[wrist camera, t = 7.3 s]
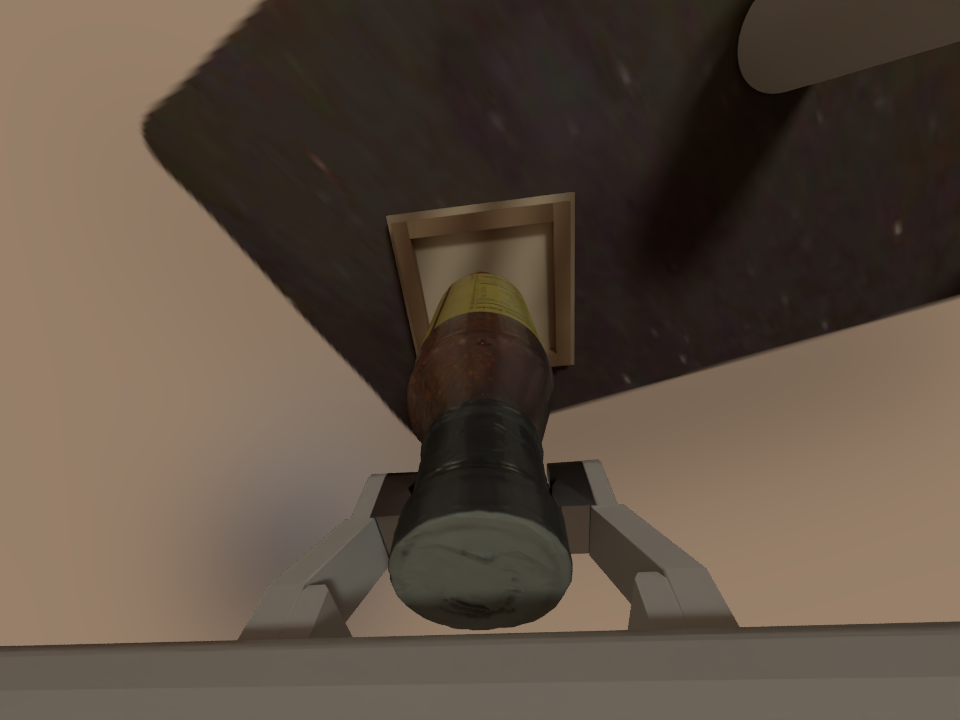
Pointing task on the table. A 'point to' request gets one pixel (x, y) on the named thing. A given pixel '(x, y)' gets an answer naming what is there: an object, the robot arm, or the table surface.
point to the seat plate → (493, 260)
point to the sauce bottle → (481, 468)
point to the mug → (837, 37)
